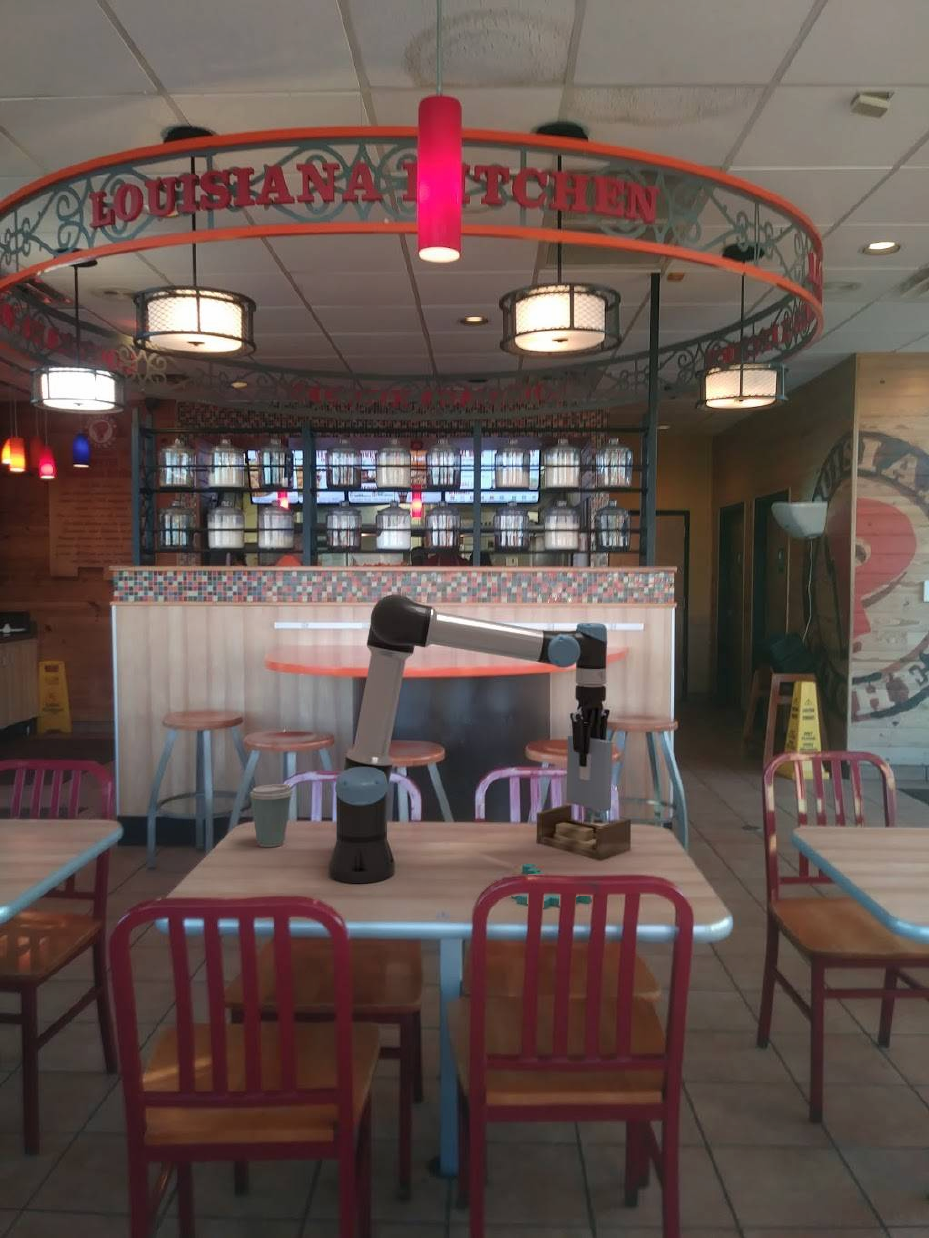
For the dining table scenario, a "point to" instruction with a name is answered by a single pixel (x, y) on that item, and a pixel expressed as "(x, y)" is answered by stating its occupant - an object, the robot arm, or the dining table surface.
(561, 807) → the rack
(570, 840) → the offcut
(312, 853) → the dining table surface
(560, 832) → the offcut
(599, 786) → the grey rectangular panel
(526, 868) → the alien figure
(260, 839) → the disposable coffee cup
